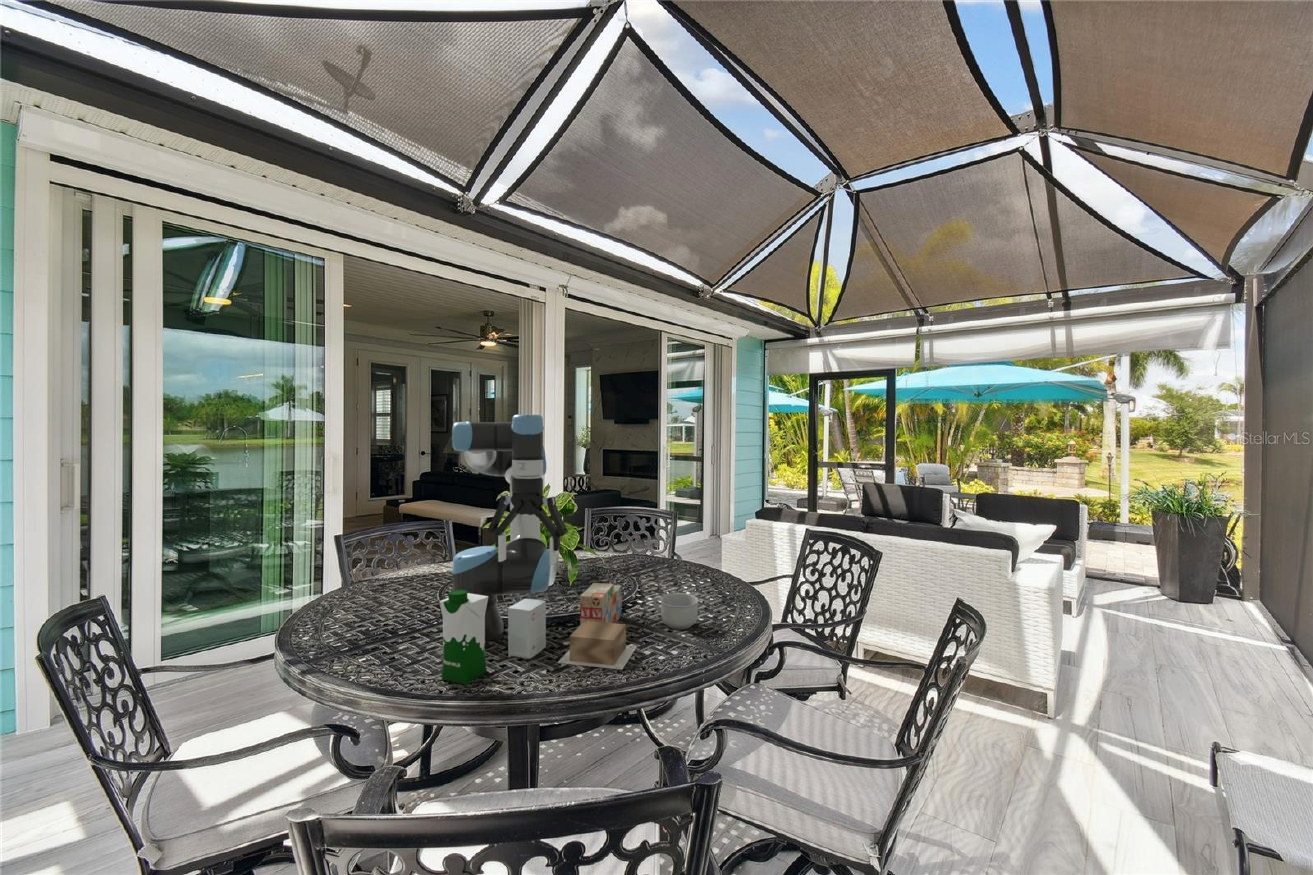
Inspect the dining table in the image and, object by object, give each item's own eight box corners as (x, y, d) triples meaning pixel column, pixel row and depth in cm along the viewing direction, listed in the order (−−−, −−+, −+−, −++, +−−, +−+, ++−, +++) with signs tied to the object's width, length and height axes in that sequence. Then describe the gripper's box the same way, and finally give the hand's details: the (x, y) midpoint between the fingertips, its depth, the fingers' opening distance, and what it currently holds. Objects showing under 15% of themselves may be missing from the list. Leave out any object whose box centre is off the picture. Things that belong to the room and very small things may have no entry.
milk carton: (435, 680, 132) (435, 592, 131) (463, 664, 140) (463, 582, 139) (466, 687, 128) (465, 597, 128) (493, 671, 137) (493, 586, 136)
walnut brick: (569, 661, 140) (569, 636, 140) (584, 643, 151) (584, 620, 150) (613, 665, 138) (613, 640, 137) (626, 647, 148) (626, 624, 148)
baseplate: (557, 667, 139) (557, 660, 139) (577, 645, 153) (577, 638, 153) (622, 674, 136) (622, 666, 136) (636, 651, 149) (636, 644, 149)
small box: (524, 647, 151) (524, 597, 150) (546, 651, 149) (546, 600, 148) (507, 660, 143) (507, 607, 143) (530, 663, 141) (530, 610, 141)
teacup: (705, 626, 168) (705, 598, 168) (681, 636, 160) (681, 607, 160) (668, 614, 177) (669, 588, 177) (644, 624, 169) (644, 596, 169)
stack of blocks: (601, 614, 178) (602, 574, 177) (621, 615, 176) (622, 575, 176) (579, 640, 157) (579, 594, 156) (602, 642, 155) (602, 596, 155)
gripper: (473, 476, 143) (473, 562, 144) (569, 479, 138) (569, 568, 139) (488, 474, 151) (488, 555, 151) (580, 476, 145) (580, 561, 146)
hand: (527, 562), depth 145 cm, fingers open, 13 cm apart
